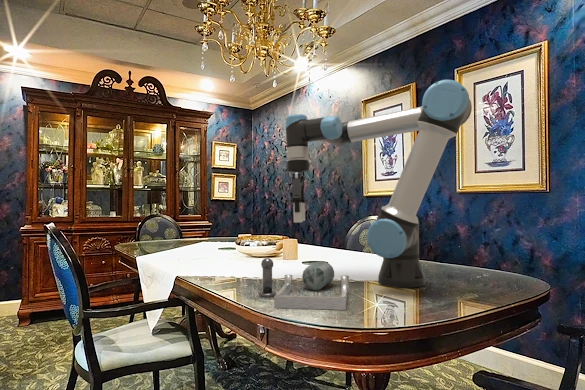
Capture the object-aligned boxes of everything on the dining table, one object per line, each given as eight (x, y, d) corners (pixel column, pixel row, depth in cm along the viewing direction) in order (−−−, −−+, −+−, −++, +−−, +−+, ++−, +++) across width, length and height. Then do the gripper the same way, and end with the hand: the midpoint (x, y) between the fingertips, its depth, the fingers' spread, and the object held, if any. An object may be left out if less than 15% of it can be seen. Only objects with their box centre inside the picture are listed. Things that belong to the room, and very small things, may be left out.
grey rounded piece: (327, 282, 118) (316, 252, 123) (301, 295, 122) (291, 265, 126) (345, 285, 129) (335, 257, 134) (321, 296, 133) (311, 269, 137)
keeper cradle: (349, 292, 120) (348, 275, 120) (348, 310, 100) (347, 290, 100) (285, 290, 123) (285, 274, 123) (272, 307, 103) (271, 288, 103)
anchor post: (277, 293, 119) (277, 257, 119) (274, 297, 114) (273, 259, 114) (261, 293, 120) (261, 256, 120) (257, 297, 115) (257, 259, 115)
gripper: (290, 164, 150) (292, 220, 149) (282, 156, 125) (284, 223, 124) (310, 163, 149) (312, 220, 148) (305, 154, 124) (308, 222, 123)
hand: (299, 221), depth 136 cm, fingers open, 13 cm apart
